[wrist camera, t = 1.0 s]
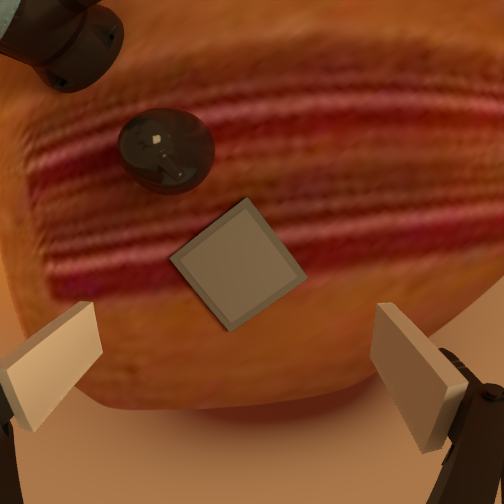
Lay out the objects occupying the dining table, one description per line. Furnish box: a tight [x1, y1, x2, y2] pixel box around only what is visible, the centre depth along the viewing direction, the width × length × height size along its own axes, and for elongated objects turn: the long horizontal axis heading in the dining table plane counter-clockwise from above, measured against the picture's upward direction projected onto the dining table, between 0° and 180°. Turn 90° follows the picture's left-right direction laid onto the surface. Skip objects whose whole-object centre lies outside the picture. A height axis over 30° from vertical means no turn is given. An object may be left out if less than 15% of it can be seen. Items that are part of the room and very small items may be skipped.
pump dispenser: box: [117, 108, 215, 195], centre depth 32 cm, size 10×10×15 cm
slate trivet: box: [170, 197, 308, 332], centre depth 42 cm, size 13×13×1 cm
